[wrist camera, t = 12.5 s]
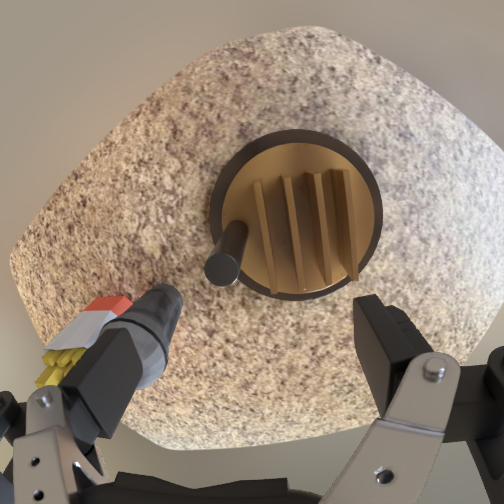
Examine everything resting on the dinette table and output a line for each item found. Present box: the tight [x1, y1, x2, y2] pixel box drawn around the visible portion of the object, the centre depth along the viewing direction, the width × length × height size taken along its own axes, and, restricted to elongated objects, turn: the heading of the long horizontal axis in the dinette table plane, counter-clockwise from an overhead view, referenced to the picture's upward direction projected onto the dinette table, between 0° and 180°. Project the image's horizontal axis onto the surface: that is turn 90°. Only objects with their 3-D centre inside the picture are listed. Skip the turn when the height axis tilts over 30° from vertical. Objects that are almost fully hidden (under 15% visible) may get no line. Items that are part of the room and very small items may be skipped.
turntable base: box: [210, 129, 383, 301], centre depth 33 cm, size 19×19×2 cm
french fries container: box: [35, 296, 133, 389], centre depth 31 cm, size 5×11×18 cm, turn 7°
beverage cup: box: [96, 284, 183, 390], centre depth 28 cm, size 7×7×20 cm
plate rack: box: [204, 143, 374, 294], centre depth 26 cm, size 16×16×12 cm
